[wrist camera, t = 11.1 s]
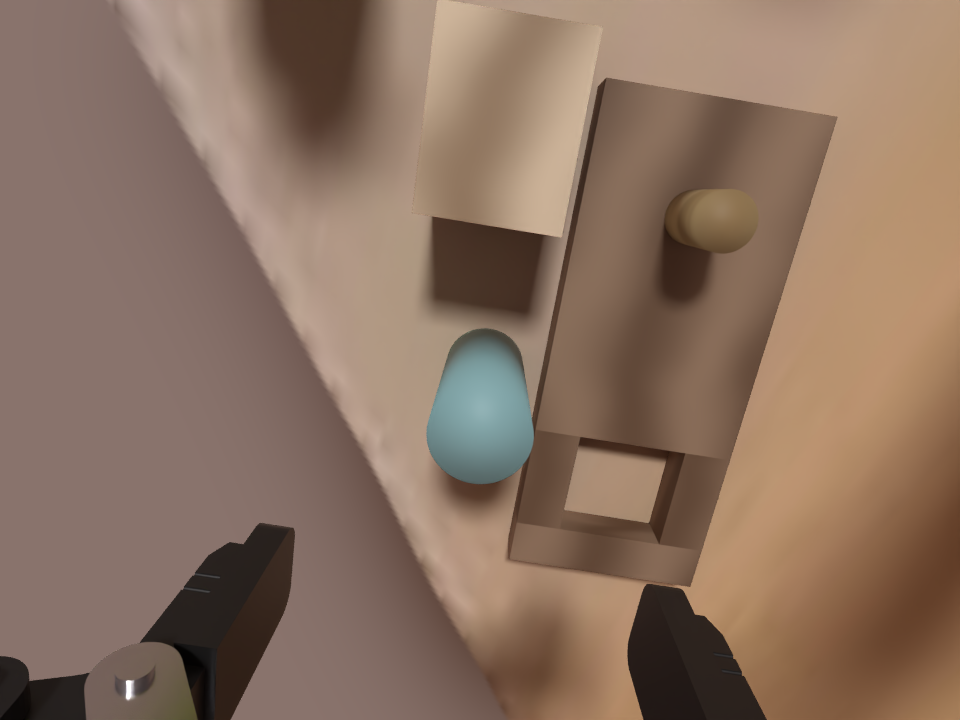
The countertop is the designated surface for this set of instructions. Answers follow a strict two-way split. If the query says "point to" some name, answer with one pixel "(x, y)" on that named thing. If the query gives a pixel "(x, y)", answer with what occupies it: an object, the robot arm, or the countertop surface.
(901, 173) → the countertop surface
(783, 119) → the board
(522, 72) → the beige cube block
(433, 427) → the peg
